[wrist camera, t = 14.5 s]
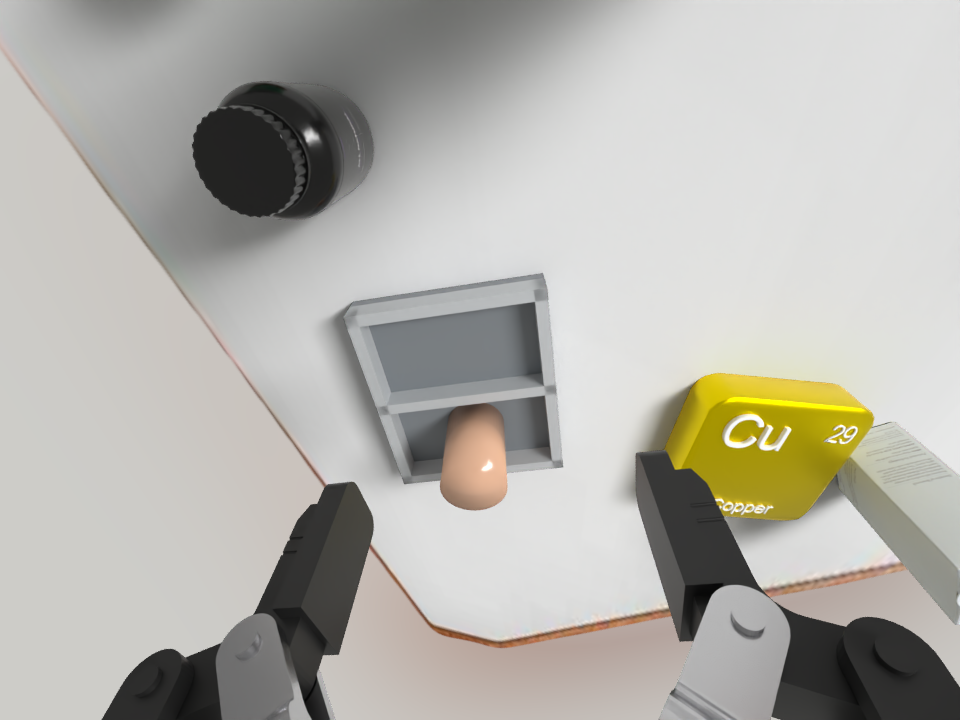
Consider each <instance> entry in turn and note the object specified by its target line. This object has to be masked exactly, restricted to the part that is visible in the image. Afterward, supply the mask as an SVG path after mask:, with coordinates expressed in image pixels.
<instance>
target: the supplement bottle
mask: <svg viewBox="0 0 960 720" xmlns="http://www.w3.org/2000/svg"><path fill="white" fill-rule="evenodd" d="M193 137H194V142H193V144H192V147H193V150H194V152H193V158H194V160H195V167H196V169H197V170H198V172H199V176H200V178H201V179H202V180H203V181H204V184H205V186H206V188H207V189H208V190H210V191H211V193H212V195H213V196H214V197H215V198H217V199H219V201H220V202H221V203H222V204H224V205H226V206H228V207H229V208H230V209H231V210H234V211H237V212H238V213H240V214H246V215H248V216H250V217H253V216H257V217H260V218H261V217H264V216H269V217H272V218H276V219H280V220H291V221H294V220H302V219H306V218H310V217H312V216H314V215H317V214H318V213H320V212H322V211H323V210H325V209H326V208H328V207H329V206H331V205H332V204H334V203H335V202H337V201H338V200H339V199H341V198H342V197H344V196H345V195H347V194H348V193H350V192H351V191H352V190H354V189H355V188H356V187H358V186H359V185H360V184H361V183H362V181H363V180H364V179H365V178H366V176H367V174H368V172H369V170H370V168H371V165H372V160H373V152H374V149H373V139H372V134H371V131H370V128H369V125H368V123H367V121H366V119H365V117H364V115H363V114H362V112H361V111H360V110H359V108H358V107H357V106H356V105H355V104H354V103H353V102H352V101H351V100H350V99H349V98H348V97H346V96H345V95H344V94H342V93H340V92H338V91H336V90H334V89H332V88H329V87H326V86H321V85H314V84H301V83H287V82H272V81H260V82H252V83H247V84H244V85H242V86H240V87H238V88H236V89H234V90H233V91H231V92H230V93H229V94H228V95H227V96H226V97H225V98H224V99H223V100H222V102H221V103H220V105H219V106H218V108H217V110H216V111H211V112H210V113H209V114H208V116H206V117H203V118H202V121H201V123H200V124H199V125H197V130H196V132H195V134H194V135H193Z"/></svg>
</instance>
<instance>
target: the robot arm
mask: <svg viewBox="0 0 960 720" xmlns="http://www.w3.org/2000/svg"><path fill="white" fill-rule="evenodd" d="M636 496H637V502H638V507H639V511H640V515H641V518H642V521H643V524H644V528H645V531H646V534H647V537H648V541H649V544H650V547H651V550H652V554H653V557H654V560H655V563H656V567H657V570H658V573H659V576H660V580H661V583H662V586H663V589H664V593H665V596H666V599H667V602H668V606H669V609H670V612H671V615H672V618H673V622H674V625H675V628H676V631H677V634H678V638H679V641H680V642H681V641H693V644H692V646H691V649H690V652H689V654H688V657H687V659H686V662H685V664H684V667H683V670H682V672H681V675H680V678H679V680H678V682H677V685H676V687H675V689H674V690H673V691H671V693H670V695H669V696H668V699H667V701H666V703H665V705H664V708H663V710H662V712H661V715H660V718H659V720H771V717H774V718H777V719H780V720H960V687H959V685H958V684H957V683H956V681H955V680H954V678H953V677H952V675H951V674H950V672H949V671H948V669H947V668H946V666H945V665H944V663H943V662H942V661H941V659H940V658H939V657H938V655H937V654H936V653H935V651H934V650H933V649H932V648H931V647H930V646H929V645H928V644H927V643H925V642H924V641H923V640H922V639H921V638H920V637H918V636H917V635H916V634H914V633H913V632H911V631H910V630H908V629H906V628H904V627H903V626H900V625H898V624H896V623H894V622H891V621H888V620H885V619H880V618H874V617H862V618H859V619H856V620H854V621H852V622H850V624H848V625H847V627H844V626H840V625H836V624H832V623H828V622H824V621H820V620H816V619H812V618H808V617H804V616H802V615H798V614H796V613H793V612H791V611H789V610H787V609H785V608H783V607H782V606H780V605H779V604H777V603H776V602H774V601H773V600H772V599H771V598H770V597H768V596H767V595H766V594H765V592H764V591H763V590H762V589H761V588H760V587H759V585H758V584H757V582H756V581H755V579H754V577H753V575H752V573H751V571H750V569H749V567H748V565H747V563H746V561H745V559H744V557H743V555H742V553H741V551H740V549H739V547H738V545H737V543H736V541H735V538H734V536H733V534H732V532H731V530H730V528H729V526H728V524H727V522H726V521H725V520H724V516H723V514H722V512H721V510H720V508H719V506H718V505H717V503H716V500H715V498H714V496H713V494H712V492H711V490H710V488H709V486H708V484H707V483H706V482H705V481H704V480H703V479H702V478H701V477H700V476H699V475H698V474H697V473H696V472H694V471H693V470H692V469H691V468H688V469H678V470H675V469H674V466H673V464H672V462H671V459H670V457H669V455H668V453H667V451H666V450H659V451H649V452H640V453H636ZM373 528H374V524H373V517H372V514H371V511H370V510H369V508H368V506H367V504H366V502H365V500H364V498H363V496H362V494H361V492H360V490H359V488H358V486H357V485H356V484H355V483H354V482H345V483H336V484H328V485H327V486H326V487H325V488H324V490H323V492H322V494H321V497H320V499H319V501H318V504H312V505H310V506H309V508H308V509H307V510H306V511H305V512H304V513H303V515H302V516H301V517H300V518H299V519H298V520H297V522H296V525H295V527H294V529H293V531H292V534H291V536H290V541H288V542H287V544H286V546H285V548H284V551H283V555H281V557H280V560H279V561H278V564H277V566H276V568H275V570H274V572H273V574H272V577H271V579H270V581H269V583H268V585H267V587H266V590H265V592H264V594H263V596H262V598H261V600H260V603H259V605H258V607H257V609H256V611H255V613H254V614H253V615H252V616H250V617H247V618H246V619H244V620H242V621H241V622H240V623H238V624H237V625H236V626H235V627H234V628H233V629H232V630H231V631H230V632H229V633H228V634H227V636H226V637H225V638H224V640H223V642H222V643H221V644H218V645H215V646H213V647H210V648H208V649H205V650H203V651H201V652H198V653H196V654H193V655H191V656H189V657H186V658H185V657H184V656H183V655H181V654H180V653H179V652H178V651H176V650H174V649H165V650H161V651H158V652H156V653H154V654H152V655H151V656H149V657H148V658H146V659H145V660H144V661H143V662H141V663H140V664H139V665H138V666H137V667H136V668H135V669H134V670H133V671H132V672H131V673H130V674H129V675H128V677H127V678H126V679H125V681H124V682H123V684H122V686H121V687H120V689H119V691H118V693H117V694H116V696H115V698H114V699H113V701H112V703H111V705H110V707H109V708H108V710H107V711H106V713H105V715H104V717H103V718H102V720H336V719H335V716H334V713H333V710H332V707H331V704H330V700H329V697H328V694H327V691H326V687H325V684H324V681H323V678H322V675H321V672H320V671H319V666H320V663H321V659H322V656H323V655H338V654H339V652H340V648H341V645H342V641H343V638H344V634H345V631H346V627H347V624H348V620H349V617H350V613H351V609H352V606H353V602H354V599H355V595H356V592H357V588H358V585H359V581H360V578H361V574H362V571H363V567H364V564H365V560H366V557H367V553H368V550H369V546H370V543H371V539H372V535H373Z"/></svg>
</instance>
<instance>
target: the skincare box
mask: <svg viewBox="0 0 960 720" xmlns="http://www.w3.org/2000/svg"><path fill="white" fill-rule="evenodd" d="M837 477H838V482H839V489H840V490H841V492H842V493H843V494H844V495H845V496H846V497H847V499H848V500H849V501H850V502H851V503H852V505H853V506H854V507H855V508H856V509H857V510H858V512H859V513H860V514H861V515H862V516H863V517H864V519H865V520H866V521H867V522H868V523H869V524H870V526H871V527H872V528H873V529H874V530H875V532H876V533H877V534H878V535H879V536H880V538H881V539H882V540H883V541H884V542H885V543H886V545H887V546H888V547H889V548H890V549H891V550H892V552H893V553H894V554H895V555H896V556H897V557H898V559H899V560H900V561H901V562H902V563H903V565H904V566H905V567H906V568H907V569H908V570H909V571H910V573H911V574H912V575H913V576H914V577H915V579H916V580H917V581H918V582H919V583H920V584H921V586H922V587H923V588H924V589H925V590H926V591H927V593H928V594H929V595H930V596H931V597H932V599H933V600H934V601H935V602H936V603H937V604H938V606H939V607H940V608H941V609H942V610H943V611H944V613H945V614H946V615H947V616H948V617H949V619H950V620H951V621H952V622H953V623H954V624H955V625H960V475H959V474H957V473H956V472H955V471H954V470H953V469H951V468H950V467H949V466H948V465H947V464H946V463H944V462H943V461H942V460H941V459H940V458H938V457H937V456H936V455H935V454H934V453H932V452H931V451H930V450H929V449H928V448H927V447H925V446H924V445H923V444H922V443H921V442H919V441H918V440H917V439H916V438H915V437H914V436H912V435H911V434H910V433H909V432H907V431H906V430H905V429H904V428H903V427H901V426H900V425H899V424H898V423H896V422H891V423H888V424H884V425H880V426H877V427H874V428H871V429H870V430H869V432H868V433H867V434H866V436H865V437H864V438H863V440H862V441H861V442H860V444H859V445H858V446H857V448H856V449H855V450H854V452H853V453H852V454H851V456H850V457H849V458H848V460H847V461H846V462H845V463H844V465H843V466H842V467H841V469H840V470H839V471H838V473H837Z"/></svg>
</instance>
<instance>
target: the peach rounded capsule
mask: <svg viewBox="0 0 960 720" xmlns="http://www.w3.org/2000/svg"><path fill="white" fill-rule="evenodd" d="M440 490H441V493H442V495H443V497H444V498H445V499H446V500H447V501H448V502H449V503H451V504H452V505H454V506H456V507H458V508H462V509H466V510H483V509H487V508H490V507H493V506H495V505H496V504H498V503H499V502H501V501H502V499H503V498H504V497H505V495H506V493H507V470H506V450H505V430H504V419H503V416H502V414H501V413H500V412H499V410H498V409H496V408H495V407H494V406H492V405H490V404H487V403H479V404H471V405H463V406H457V407H456V408H455V409H454V410H453V411H452V412H451V413H450V415H449V418H448V423H447V432H446V440H445V448H444V457H443V465H442V473H441V482H440Z"/></svg>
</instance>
